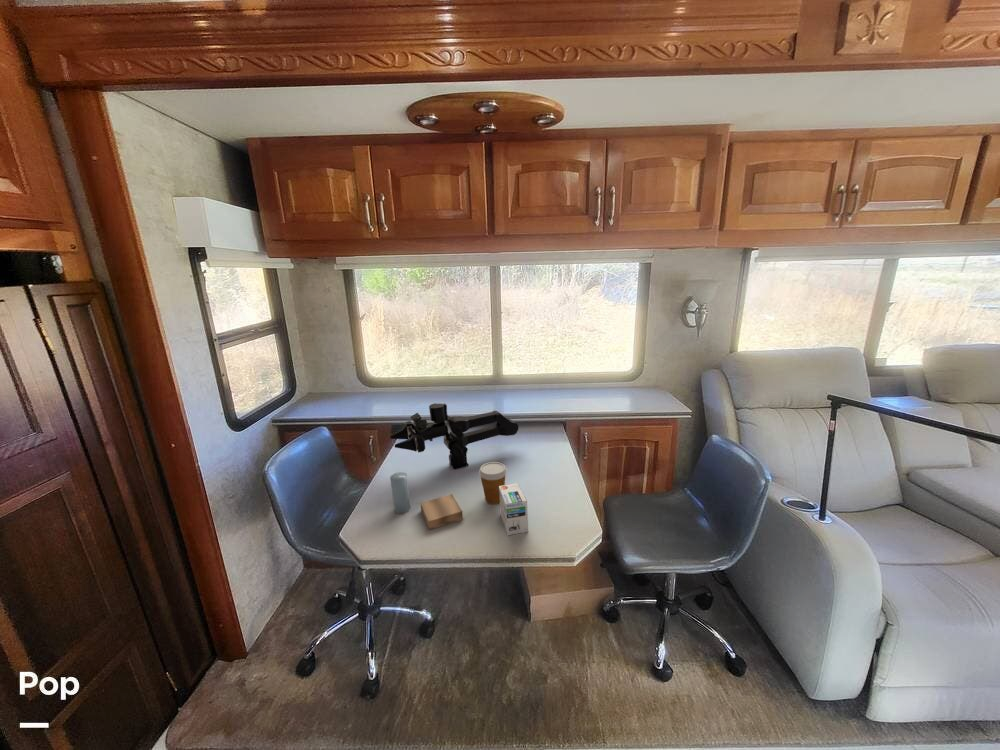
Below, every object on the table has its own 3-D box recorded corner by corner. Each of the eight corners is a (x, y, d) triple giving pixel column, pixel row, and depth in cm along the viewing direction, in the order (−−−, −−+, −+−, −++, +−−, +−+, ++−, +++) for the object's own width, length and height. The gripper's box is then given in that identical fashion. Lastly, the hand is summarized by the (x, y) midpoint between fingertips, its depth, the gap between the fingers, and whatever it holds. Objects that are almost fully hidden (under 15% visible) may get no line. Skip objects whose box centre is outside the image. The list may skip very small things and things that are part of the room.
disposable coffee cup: (477, 495, 132) (474, 465, 129) (501, 488, 136) (500, 458, 133) (486, 510, 124) (484, 477, 121) (512, 502, 127) (511, 470, 124)
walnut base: (452, 501, 129) (451, 494, 129) (463, 519, 120) (462, 511, 119) (421, 510, 125) (420, 502, 124) (429, 529, 115) (428, 521, 115)
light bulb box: (528, 532, 112) (527, 500, 109) (507, 536, 111) (505, 504, 108) (519, 511, 122) (518, 482, 120) (499, 515, 121) (498, 485, 118)
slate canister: (408, 503, 130) (404, 470, 127) (411, 511, 125) (407, 477, 122) (393, 507, 128) (389, 474, 125) (396, 515, 123) (391, 481, 120)
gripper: (423, 405, 153) (384, 414, 146) (436, 419, 136) (393, 430, 130) (427, 430, 156) (389, 440, 149) (440, 447, 139) (398, 458, 133)
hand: (392, 441), depth 140 cm, fingers open, 9 cm apart
